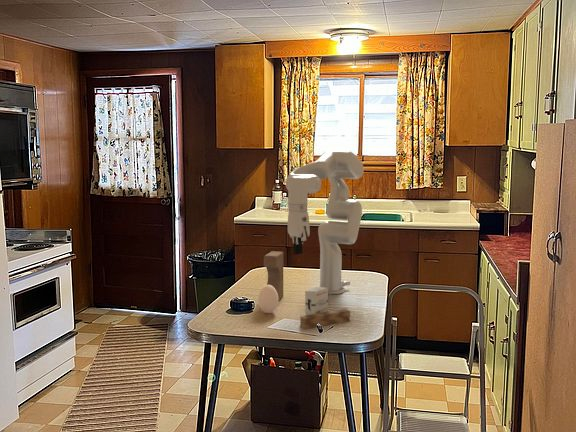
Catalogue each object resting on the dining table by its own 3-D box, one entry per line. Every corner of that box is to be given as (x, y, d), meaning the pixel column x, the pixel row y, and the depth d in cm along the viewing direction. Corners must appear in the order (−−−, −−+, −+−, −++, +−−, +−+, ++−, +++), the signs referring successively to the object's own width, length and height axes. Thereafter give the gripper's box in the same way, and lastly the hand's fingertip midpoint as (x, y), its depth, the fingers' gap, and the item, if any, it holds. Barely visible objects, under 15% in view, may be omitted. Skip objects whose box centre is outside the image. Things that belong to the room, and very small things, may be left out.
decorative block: (276, 303, 251) (275, 256, 248) (263, 302, 253) (262, 255, 250) (284, 297, 262) (284, 251, 259) (271, 295, 263) (271, 250, 261)
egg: (263, 317, 233) (263, 288, 231) (255, 311, 240) (254, 283, 238) (282, 314, 236) (282, 285, 235) (273, 309, 243) (273, 281, 242)
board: (345, 318, 231) (345, 308, 230) (349, 320, 228) (349, 310, 228) (300, 326, 221) (300, 316, 220) (304, 329, 218) (304, 318, 218)
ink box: (317, 315, 235) (318, 285, 234) (328, 317, 232) (328, 287, 231) (304, 320, 229) (304, 290, 227) (315, 323, 226) (315, 292, 224)
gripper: (316, 209, 232) (316, 256, 235) (296, 205, 245) (296, 249, 248) (299, 210, 229) (299, 258, 231) (280, 206, 241) (280, 251, 244)
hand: (297, 253), depth 239 cm, fingers closed
